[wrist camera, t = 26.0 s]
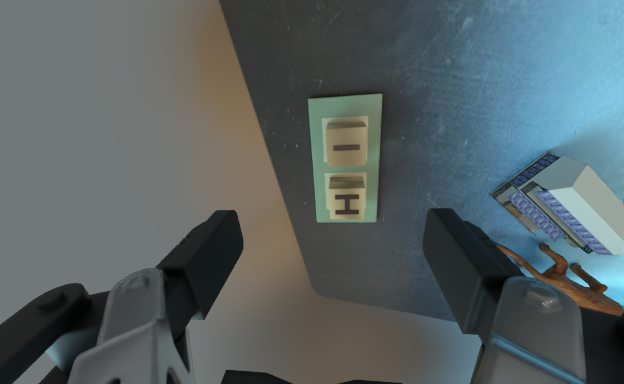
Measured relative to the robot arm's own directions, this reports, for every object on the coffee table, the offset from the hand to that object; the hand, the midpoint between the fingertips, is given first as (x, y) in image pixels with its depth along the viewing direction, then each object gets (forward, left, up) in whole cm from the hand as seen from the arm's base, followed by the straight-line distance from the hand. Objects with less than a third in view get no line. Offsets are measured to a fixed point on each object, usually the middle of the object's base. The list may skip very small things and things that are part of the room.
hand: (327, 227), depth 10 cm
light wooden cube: (+1, -9, -23) cm, 24 cm away
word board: (+1, -5, -23) cm, 24 cm away
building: (+30, -12, -24) cm, 40 cm away
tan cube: (+1, -1, -23) cm, 23 cm away
